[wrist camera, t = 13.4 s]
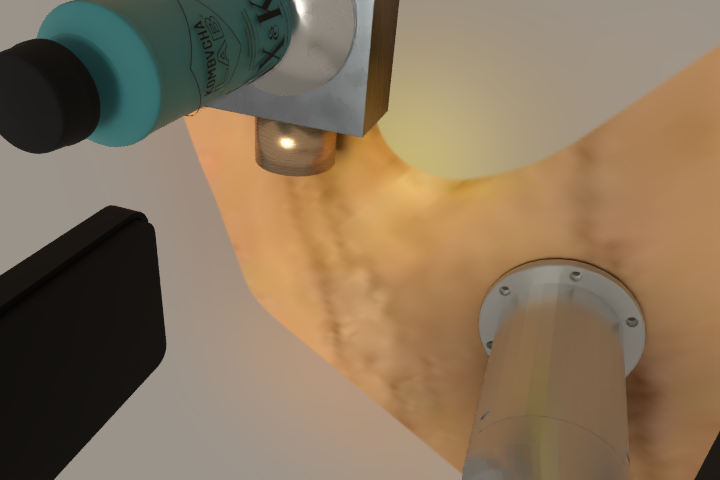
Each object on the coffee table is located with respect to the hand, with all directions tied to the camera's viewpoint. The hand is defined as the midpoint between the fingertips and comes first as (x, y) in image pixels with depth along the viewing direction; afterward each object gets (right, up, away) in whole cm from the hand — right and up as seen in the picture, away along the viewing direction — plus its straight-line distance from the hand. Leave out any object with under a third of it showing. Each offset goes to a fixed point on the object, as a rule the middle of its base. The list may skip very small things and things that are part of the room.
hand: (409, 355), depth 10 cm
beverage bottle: (-7, +16, +30) cm, 35 cm away
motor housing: (-4, +17, +36) cm, 40 cm away
